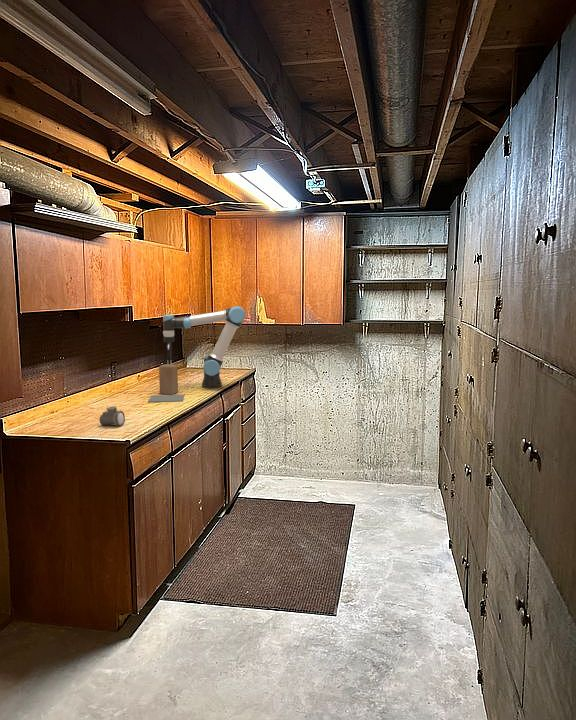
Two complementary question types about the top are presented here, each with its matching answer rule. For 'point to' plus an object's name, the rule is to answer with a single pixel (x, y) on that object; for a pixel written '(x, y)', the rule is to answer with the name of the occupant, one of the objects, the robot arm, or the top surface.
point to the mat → (166, 398)
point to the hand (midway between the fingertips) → (169, 369)
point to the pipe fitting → (112, 417)
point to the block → (168, 379)
